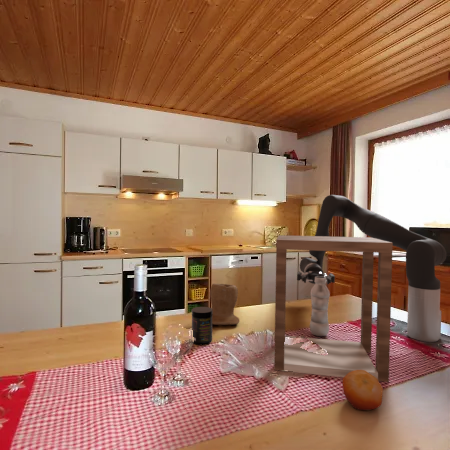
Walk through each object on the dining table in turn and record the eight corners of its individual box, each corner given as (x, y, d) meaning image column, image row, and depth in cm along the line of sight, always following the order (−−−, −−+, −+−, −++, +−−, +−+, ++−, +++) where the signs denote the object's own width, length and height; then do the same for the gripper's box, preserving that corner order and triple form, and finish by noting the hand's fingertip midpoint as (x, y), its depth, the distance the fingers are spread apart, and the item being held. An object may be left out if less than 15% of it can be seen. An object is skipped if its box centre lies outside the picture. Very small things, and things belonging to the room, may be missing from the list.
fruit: (366, 384, 76) (376, 363, 71) (381, 419, 69) (392, 399, 65) (332, 384, 75) (340, 363, 71) (344, 419, 69) (353, 399, 64)
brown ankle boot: (238, 318, 128) (239, 280, 128) (239, 328, 116) (240, 287, 116) (200, 317, 128) (201, 280, 128) (197, 328, 116) (198, 286, 116)
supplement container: (216, 342, 103) (217, 310, 103) (200, 347, 99) (200, 314, 99) (203, 336, 108) (203, 305, 108) (187, 341, 104) (187, 309, 104)
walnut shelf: (277, 341, 105) (278, 235, 104) (369, 349, 99) (371, 237, 98) (274, 370, 85) (276, 239, 84) (388, 382, 80) (392, 242, 79)
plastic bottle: (326, 331, 114) (327, 275, 113) (331, 339, 107) (332, 279, 107) (308, 331, 114) (309, 275, 114) (311, 338, 108) (312, 278, 107)
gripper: (296, 263, 139) (297, 269, 123) (331, 265, 136) (336, 272, 120) (296, 280, 139) (297, 289, 123) (330, 282, 136) (336, 292, 120)
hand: (316, 280), depth 121 cm, fingers open, 8 cm apart
